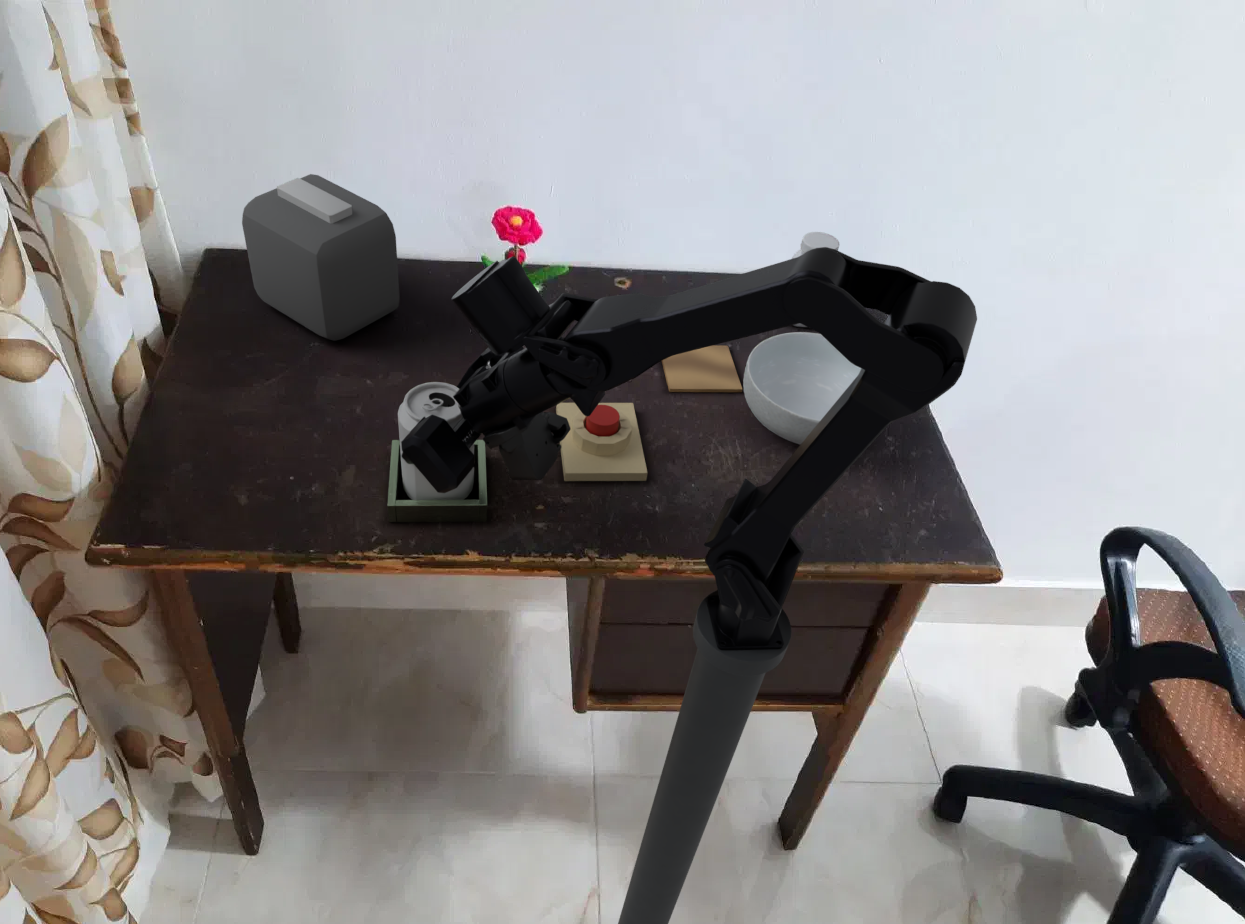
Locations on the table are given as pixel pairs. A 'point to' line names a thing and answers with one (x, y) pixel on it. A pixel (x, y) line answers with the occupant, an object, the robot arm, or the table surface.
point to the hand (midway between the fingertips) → (425, 437)
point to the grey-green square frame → (437, 508)
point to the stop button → (603, 421)
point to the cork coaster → (702, 371)
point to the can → (410, 412)
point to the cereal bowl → (795, 382)
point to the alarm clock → (322, 256)
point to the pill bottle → (816, 246)
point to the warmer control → (602, 448)
